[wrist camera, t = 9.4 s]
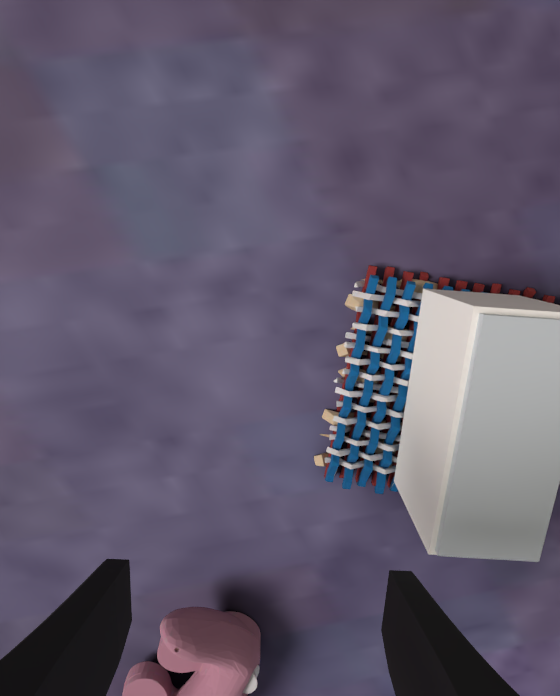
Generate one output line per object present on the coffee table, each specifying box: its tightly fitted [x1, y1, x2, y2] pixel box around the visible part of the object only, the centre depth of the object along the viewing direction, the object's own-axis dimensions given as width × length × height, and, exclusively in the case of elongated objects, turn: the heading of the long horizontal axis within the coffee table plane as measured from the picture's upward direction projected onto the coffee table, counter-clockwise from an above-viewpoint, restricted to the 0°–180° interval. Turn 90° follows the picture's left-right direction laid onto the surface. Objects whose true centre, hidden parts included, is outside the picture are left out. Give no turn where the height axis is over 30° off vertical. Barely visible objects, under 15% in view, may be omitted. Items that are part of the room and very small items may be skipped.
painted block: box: [394, 289, 560, 562], centre depth 17 cm, size 4×9×5 cm, turn 176°
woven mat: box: [314, 265, 555, 494], centre depth 20 cm, size 10×11×2 cm
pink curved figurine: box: [122, 607, 261, 696], centre depth 22 cm, size 10×5×7 cm
